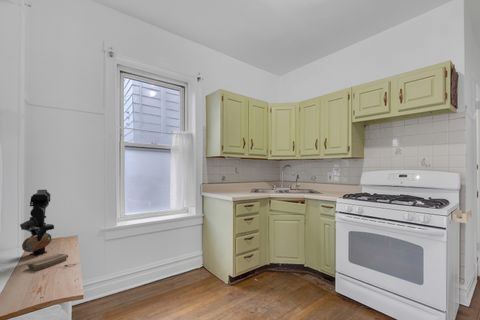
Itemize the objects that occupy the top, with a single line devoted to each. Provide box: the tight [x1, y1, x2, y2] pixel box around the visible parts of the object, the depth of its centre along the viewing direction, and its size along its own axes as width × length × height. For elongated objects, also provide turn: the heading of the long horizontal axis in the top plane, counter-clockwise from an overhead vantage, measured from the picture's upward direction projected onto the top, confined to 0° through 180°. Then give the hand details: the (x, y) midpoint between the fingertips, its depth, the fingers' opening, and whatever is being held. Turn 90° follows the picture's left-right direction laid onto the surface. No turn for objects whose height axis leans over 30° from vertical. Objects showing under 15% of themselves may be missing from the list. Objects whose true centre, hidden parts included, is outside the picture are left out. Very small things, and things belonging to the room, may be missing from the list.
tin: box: [21, 232, 52, 253], centre depth 144 cm, size 15×3×8 cm, turn 165°
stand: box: [26, 253, 69, 271], centre depth 139 cm, size 8×17×3 cm, turn 165°
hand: (37, 241), depth 144 cm, fingers closed on tin, 3 cm apart
